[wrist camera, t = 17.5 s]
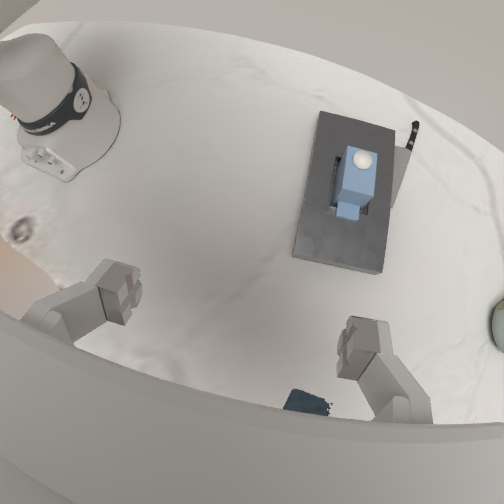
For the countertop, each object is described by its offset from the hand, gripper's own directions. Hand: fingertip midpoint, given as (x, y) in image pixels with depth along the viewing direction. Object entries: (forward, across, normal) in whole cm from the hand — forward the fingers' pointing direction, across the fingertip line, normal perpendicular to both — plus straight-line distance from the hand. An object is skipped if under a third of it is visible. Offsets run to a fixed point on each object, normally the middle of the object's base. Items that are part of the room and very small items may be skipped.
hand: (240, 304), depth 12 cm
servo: (+35, -9, +9) cm, 37 cm away
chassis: (+35, -9, +9) cm, 37 cm away
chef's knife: (+41, -17, +4) cm, 45 cm away
